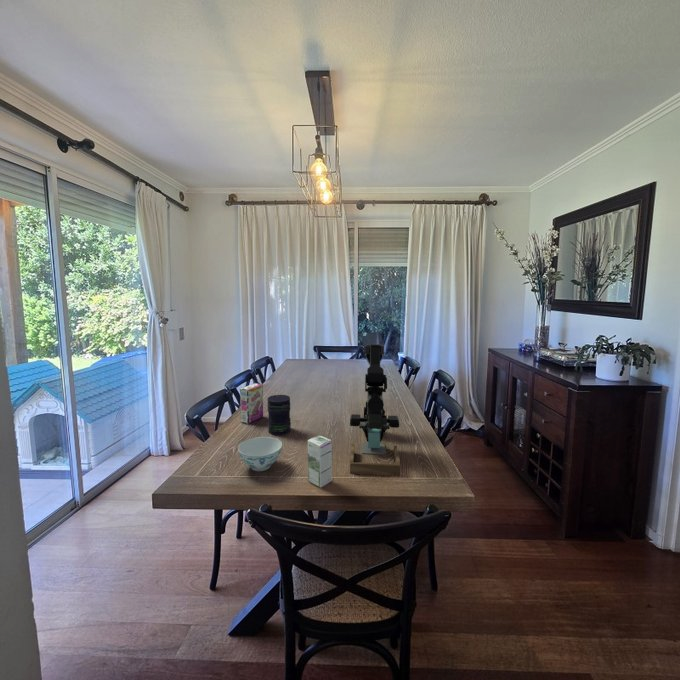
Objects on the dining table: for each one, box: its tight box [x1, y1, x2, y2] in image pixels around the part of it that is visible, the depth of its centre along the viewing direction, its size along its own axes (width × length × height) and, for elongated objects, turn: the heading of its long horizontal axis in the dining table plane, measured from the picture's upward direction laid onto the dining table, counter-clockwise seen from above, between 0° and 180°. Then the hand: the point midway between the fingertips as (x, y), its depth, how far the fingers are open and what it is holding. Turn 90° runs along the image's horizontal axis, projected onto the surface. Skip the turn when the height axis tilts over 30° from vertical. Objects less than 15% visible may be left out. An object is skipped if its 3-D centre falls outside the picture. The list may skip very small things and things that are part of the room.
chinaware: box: [237, 436, 283, 472], centre depth 124 cm, size 15×15×8 cm
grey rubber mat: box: [361, 442, 387, 456], centre depth 138 cm, size 9×9×1 cm
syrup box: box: [307, 434, 333, 489], centre depth 114 cm, size 6×6×14 cm
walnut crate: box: [349, 443, 401, 476], centre depth 127 cm, size 15×17×4 cm
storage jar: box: [267, 394, 292, 436], centre depth 154 cm, size 10×10×15 cm
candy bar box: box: [239, 382, 264, 425], centre depth 167 cm, size 11×5×16 cm, turn 154°
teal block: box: [367, 428, 381, 448], centre depth 138 cm, size 4×4×6 cm
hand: (373, 441), depth 138 cm, fingers closed on teal block, 4 cm apart
